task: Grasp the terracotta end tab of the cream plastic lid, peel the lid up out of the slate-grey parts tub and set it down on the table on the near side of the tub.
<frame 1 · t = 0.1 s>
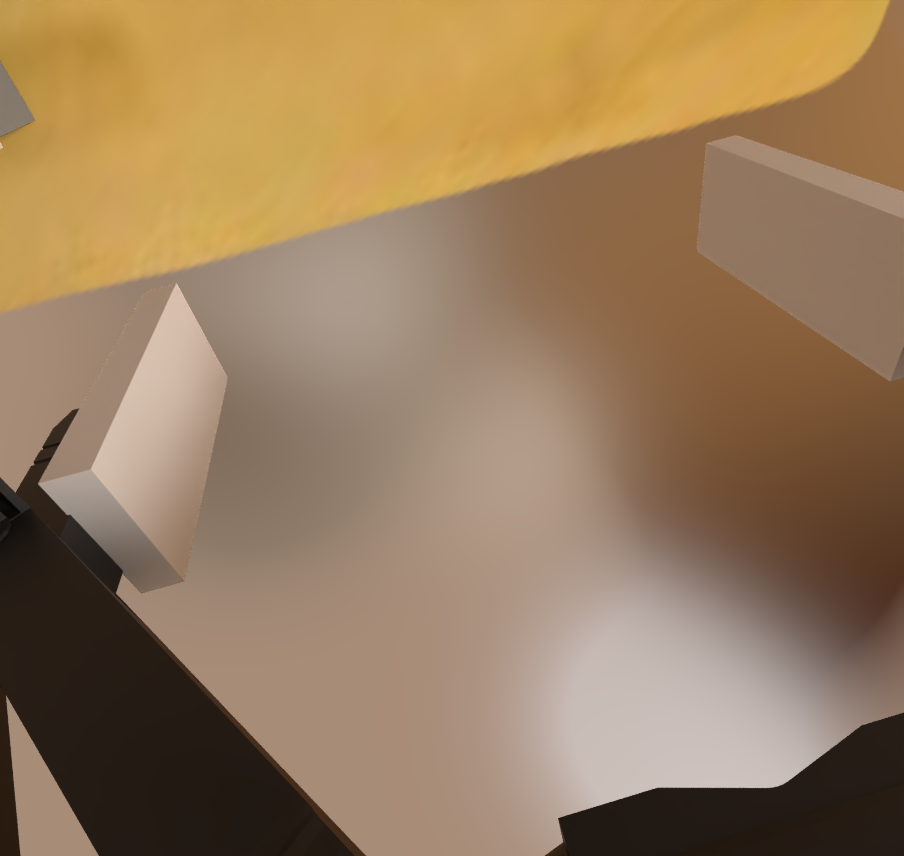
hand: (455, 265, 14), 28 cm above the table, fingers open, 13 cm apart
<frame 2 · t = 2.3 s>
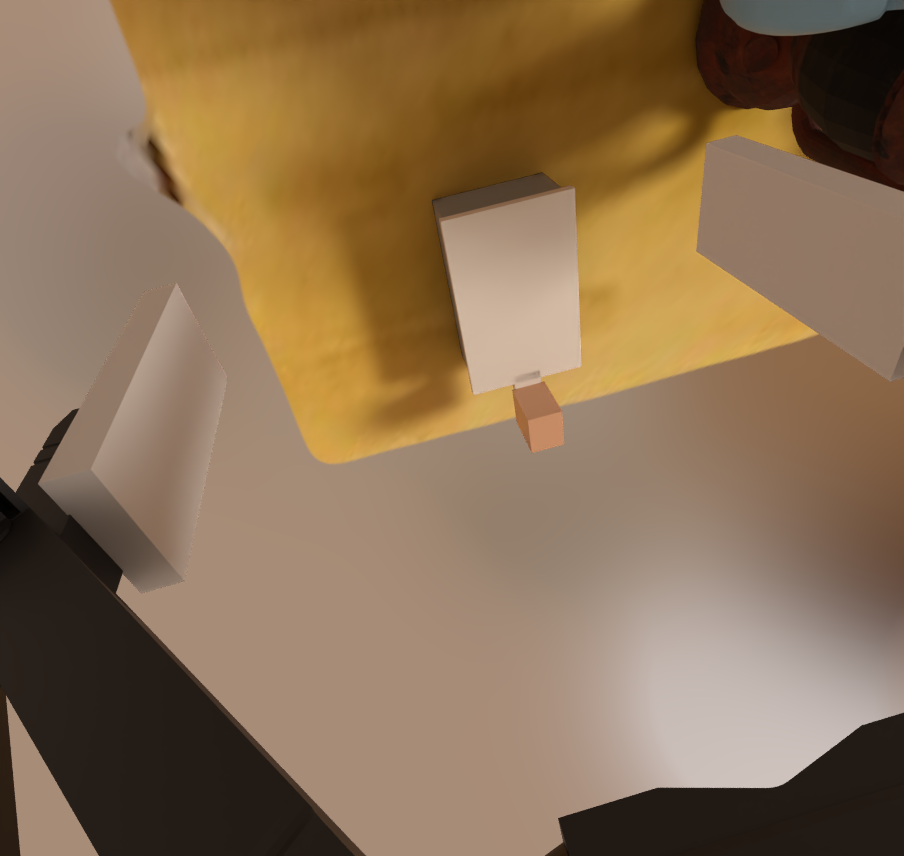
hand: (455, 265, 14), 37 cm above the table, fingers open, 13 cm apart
lid: (516, 298, 49), point 6 cm above the table, touching tub
lantern: (781, 9, 44), point 1 cm above the table, touching arm
tub: (498, 272, 54), on the table
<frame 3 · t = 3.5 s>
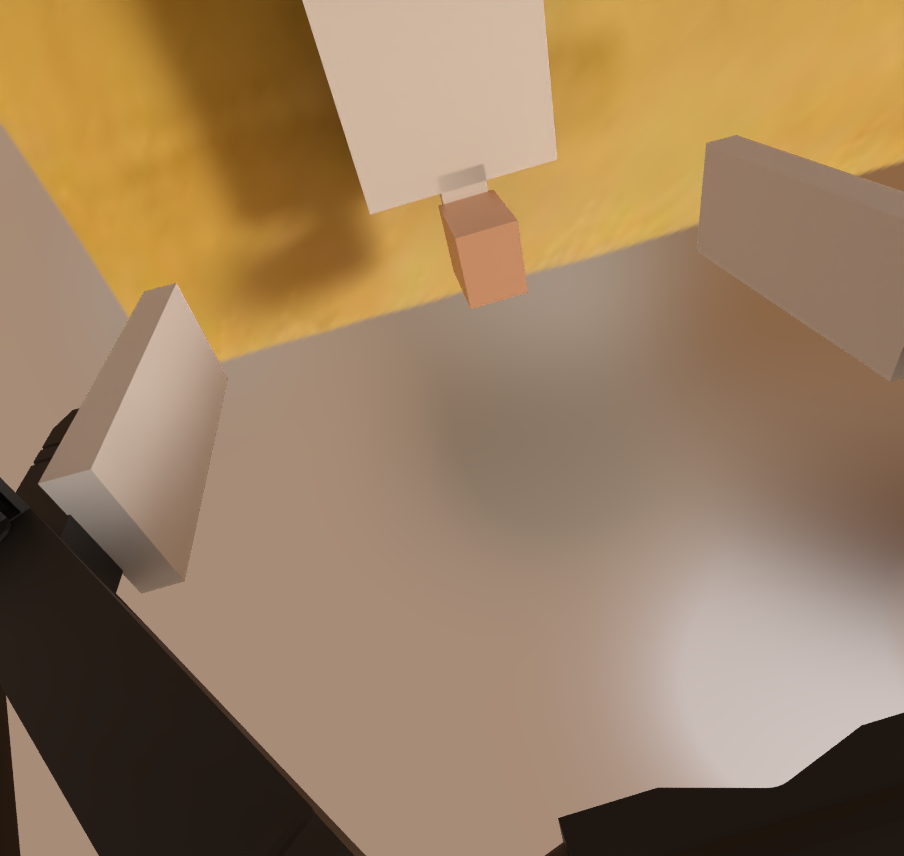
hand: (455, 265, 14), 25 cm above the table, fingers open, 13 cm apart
lid: (424, 0, 26), point 6 cm above the table, touching tub
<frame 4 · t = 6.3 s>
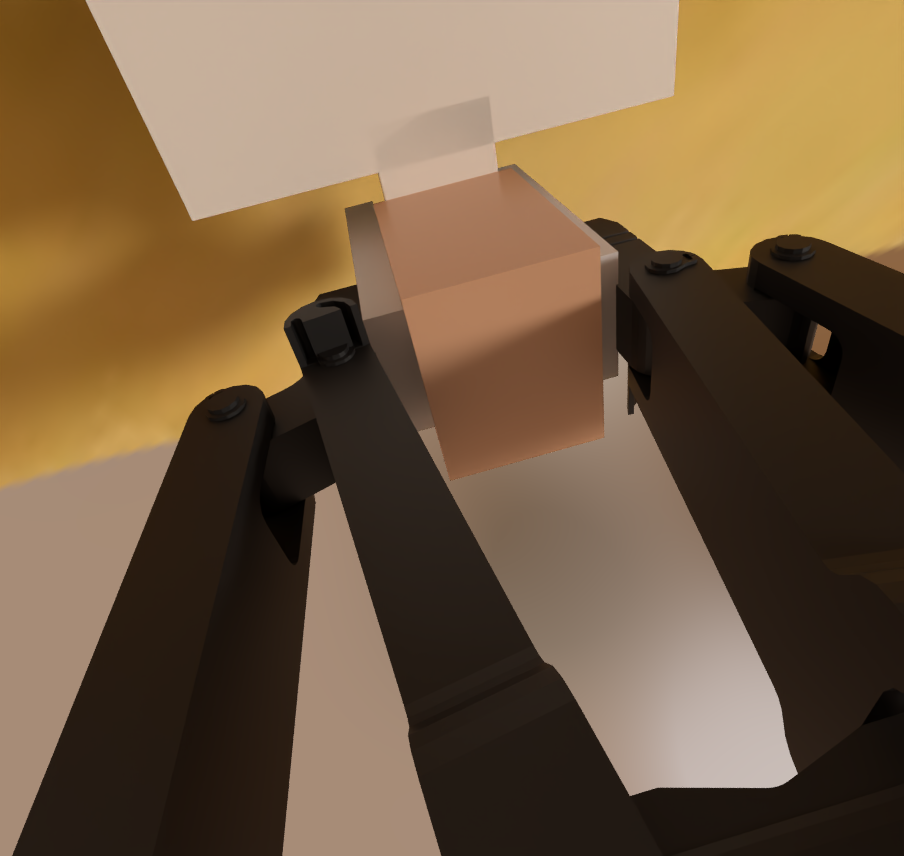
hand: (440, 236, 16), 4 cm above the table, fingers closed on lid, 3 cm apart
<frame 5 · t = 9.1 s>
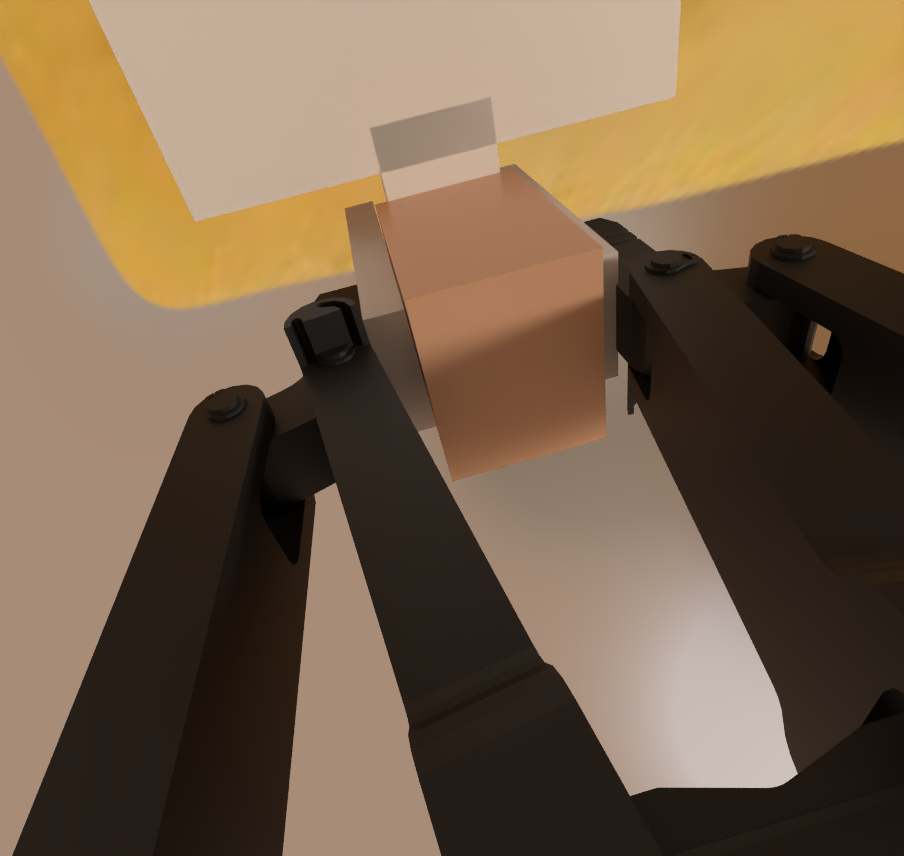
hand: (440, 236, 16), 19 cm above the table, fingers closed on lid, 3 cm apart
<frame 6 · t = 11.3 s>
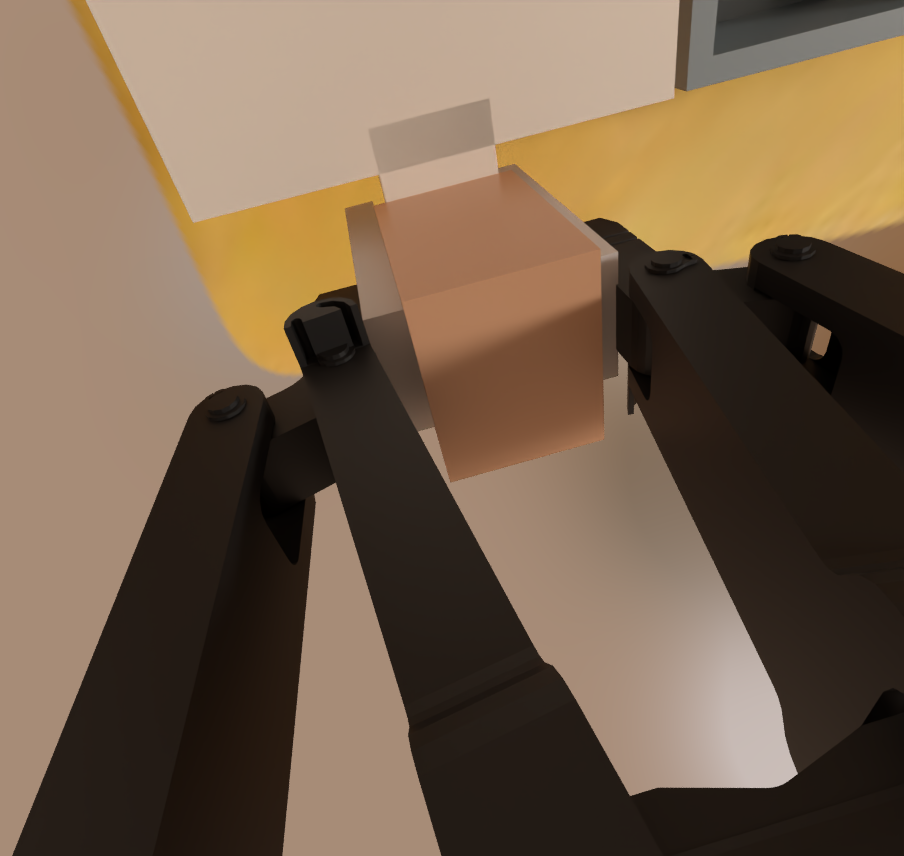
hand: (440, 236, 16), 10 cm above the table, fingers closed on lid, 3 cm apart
when the fingers open (2 cm above the table, at t = 13.0 s): lid drops 2 cm, point 1 cm above the table.
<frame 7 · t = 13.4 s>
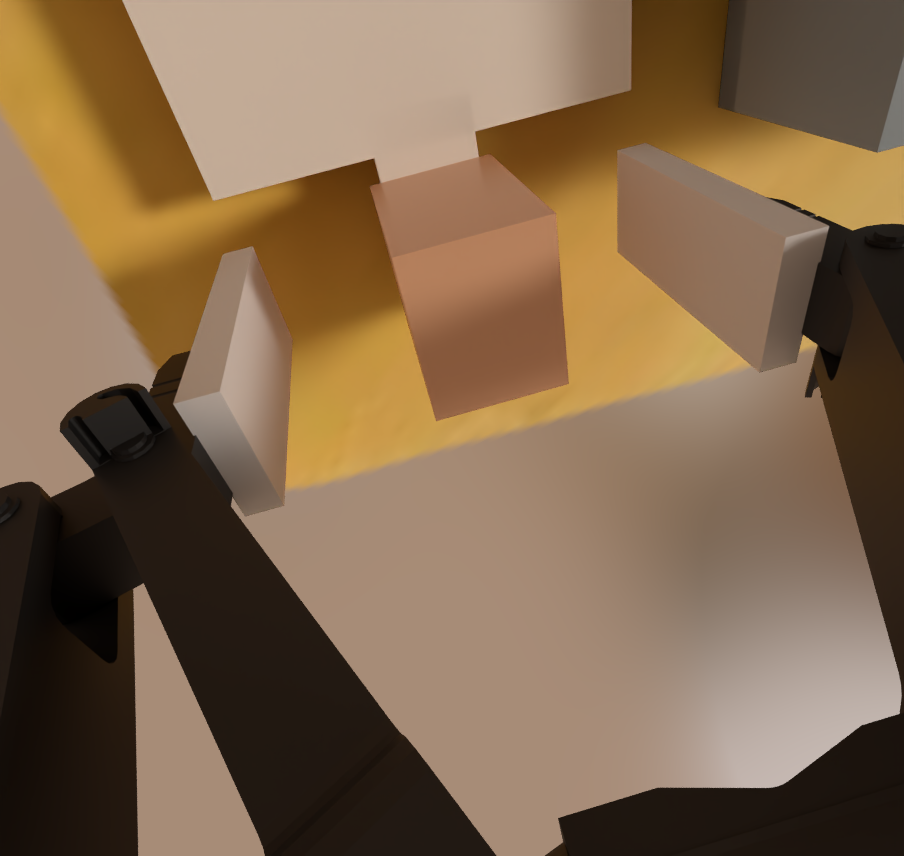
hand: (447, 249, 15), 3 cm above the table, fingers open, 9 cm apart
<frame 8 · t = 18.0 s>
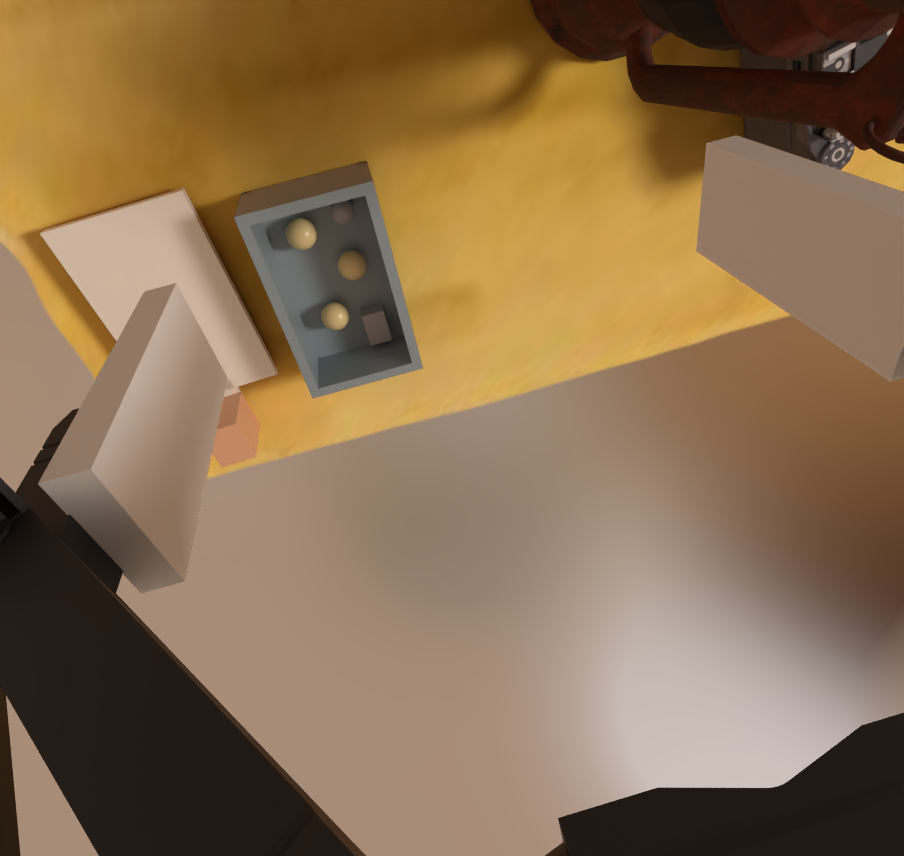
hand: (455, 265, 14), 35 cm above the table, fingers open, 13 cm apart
lid: (174, 307, 47), point 1 cm above the table
camera: (794, 43, 45), on the table
tub: (336, 272, 49), on the table
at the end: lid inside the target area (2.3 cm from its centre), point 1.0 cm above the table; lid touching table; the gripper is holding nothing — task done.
